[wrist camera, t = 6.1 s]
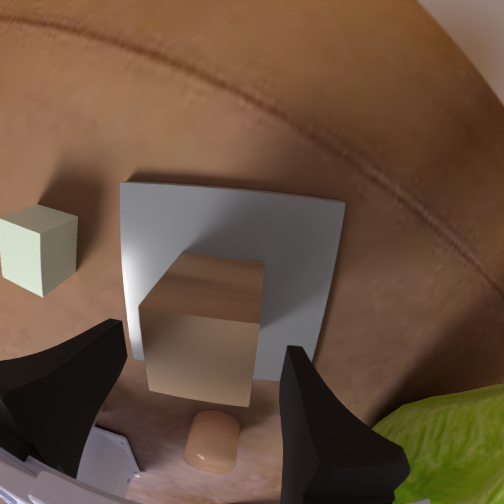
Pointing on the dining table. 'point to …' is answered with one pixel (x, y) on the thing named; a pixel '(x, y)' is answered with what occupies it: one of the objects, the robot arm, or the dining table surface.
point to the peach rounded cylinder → (212, 442)
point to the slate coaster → (236, 253)
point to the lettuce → (451, 447)
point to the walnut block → (203, 328)
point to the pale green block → (38, 247)
